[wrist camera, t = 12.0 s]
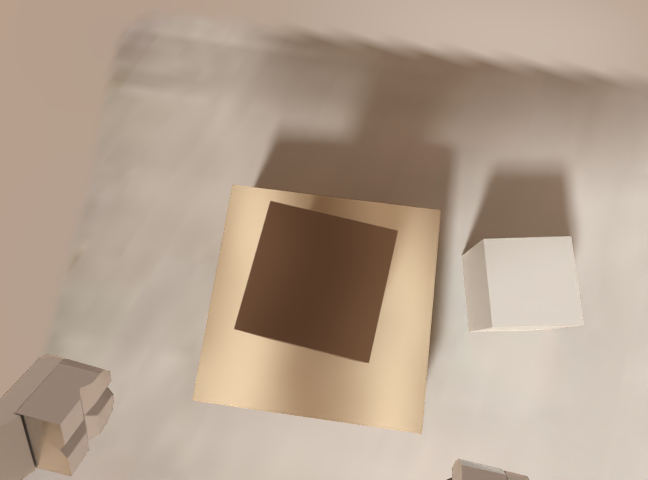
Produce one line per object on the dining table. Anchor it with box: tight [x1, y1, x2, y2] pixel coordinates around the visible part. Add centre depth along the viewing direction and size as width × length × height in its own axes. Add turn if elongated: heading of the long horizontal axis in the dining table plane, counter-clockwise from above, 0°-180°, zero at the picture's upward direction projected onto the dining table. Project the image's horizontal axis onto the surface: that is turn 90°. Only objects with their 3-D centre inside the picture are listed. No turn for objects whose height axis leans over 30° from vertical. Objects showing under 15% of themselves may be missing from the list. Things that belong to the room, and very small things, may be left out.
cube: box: [462, 236, 584, 332], centre depth 24 cm, size 4×4×4 cm
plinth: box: [192, 185, 441, 434], centre depth 24 cm, size 10×10×4 cm
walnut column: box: [234, 201, 398, 363], centre depth 19 cm, size 4×4×8 cm
